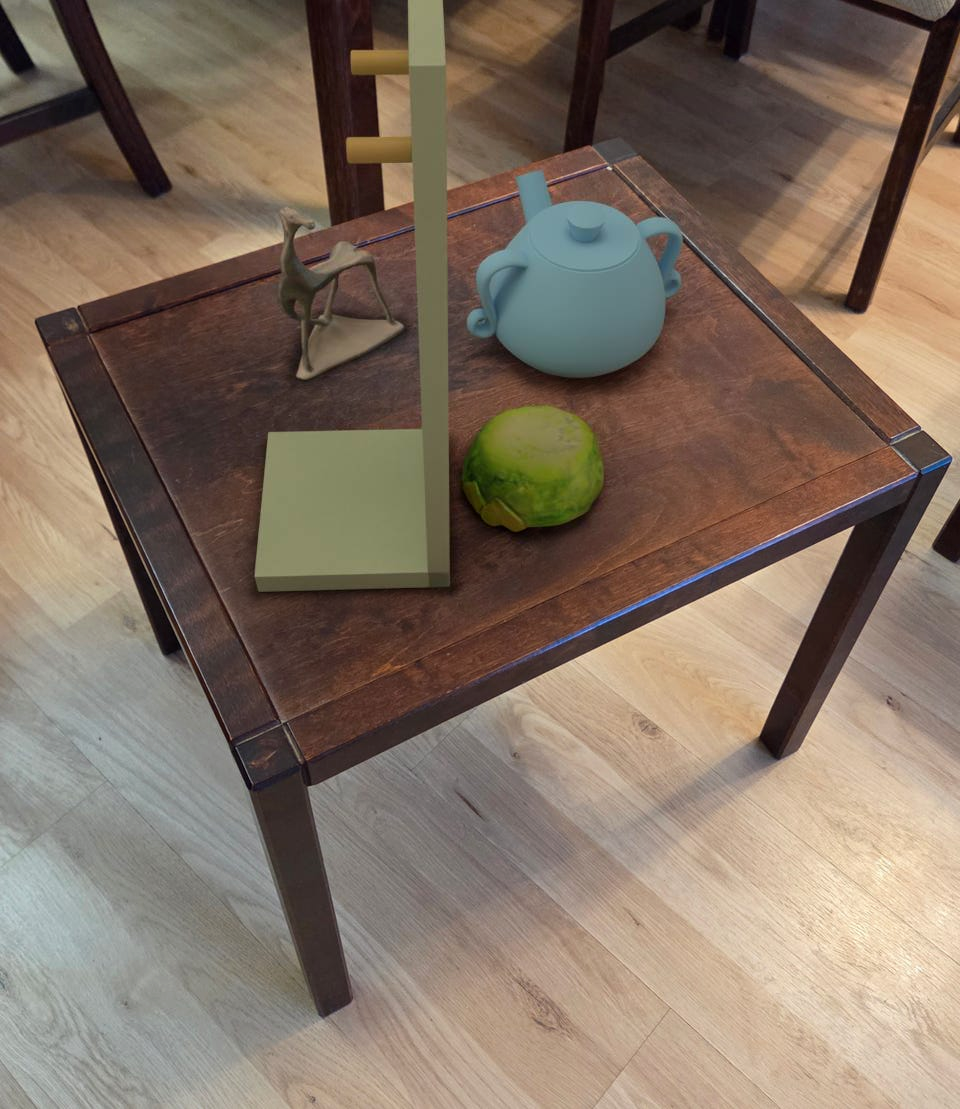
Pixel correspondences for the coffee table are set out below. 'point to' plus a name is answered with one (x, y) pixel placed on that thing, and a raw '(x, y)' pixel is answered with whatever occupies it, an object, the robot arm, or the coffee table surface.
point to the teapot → (576, 285)
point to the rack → (378, 455)
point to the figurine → (331, 333)
